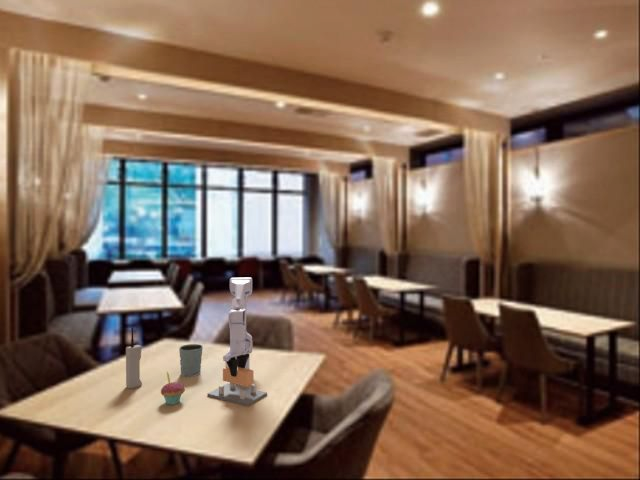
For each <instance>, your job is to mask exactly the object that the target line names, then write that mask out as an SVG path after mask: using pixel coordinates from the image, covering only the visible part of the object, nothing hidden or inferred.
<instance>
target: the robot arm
mask: <svg viewBox="0 0 640 480" xmlns="http://www.w3.org/2000/svg"><path fill="white" fill-rule="evenodd" d="M229 290H230V294H231V296H234V298H232V300H231V306H230V311H228V325H229V326H228V327H229V328H228V329H229V351H228V352H227V353H226V354H224V355H223V356H222V359H223V362H225V364H226V363H227V365H228V367H229V369H230V373H231V376H233V377H236V375H237V367H240V368H245V369H250V354H252V353H253V336H252V335H251V334H250V333H248V331H247V301H248V300H247V299H248V297H249V296H252V293H253V278H252V277H231V278H230V279H229Z"/></svg>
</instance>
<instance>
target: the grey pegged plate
mask: <svg viewBox="0 0 640 480" xmlns="http://www.w3.org/2000/svg"><path fill="white" fill-rule="evenodd" d="M256 386H257V385H256V384H254V383H252V384H250V387H247V386H242V385H238V384H235V383H231V382H229V383H226V384H220V385H218V387H217V388H216V389H214V390H212V391H210V392H208V393H207V396H206V397H210V398H214V399H218V400H220V401H221V400H222V401H225V402H229V403H233V404H238V405H241V406H244V407H249V406H252V405H253V404H255V403H256V402H258V401H260V400H261V399H263V398H264V397H266V396H268V392H266V391H262V390H258V389H257V388H256Z"/></svg>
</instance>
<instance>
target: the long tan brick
mask: <svg viewBox="0 0 640 480" xmlns="http://www.w3.org/2000/svg"><path fill="white" fill-rule="evenodd" d="M222 381H223V382H227V383H230V382H231V383H235V385H238V386H243V387H248V386H251V385H252V384H254V369H250V368H249V369H245V368H240V367H237V375H236V377H233V376H231V373H230V369H229V367H228V365H227V363H226V362H225V366H224V367H223V368H222Z"/></svg>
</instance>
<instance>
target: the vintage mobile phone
mask: <svg viewBox="0 0 640 480" xmlns="http://www.w3.org/2000/svg"><path fill="white" fill-rule="evenodd" d="M130 339H131V341H130V342H131V345H130V346H126V347H125V375H126V376H125V386H126V388H128V389H130V390H131V389H136V388H140V387H141V386H143V382H142V380H141V379H140V378H141V377H140V373H141V371H140V370H141V369H140V368H141V367H140V363H141V362H140V361H141V359H142V349H143V348H142V345H140V344H135V345H134V342H135V341H134V326H132V327H131V338H130Z"/></svg>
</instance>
